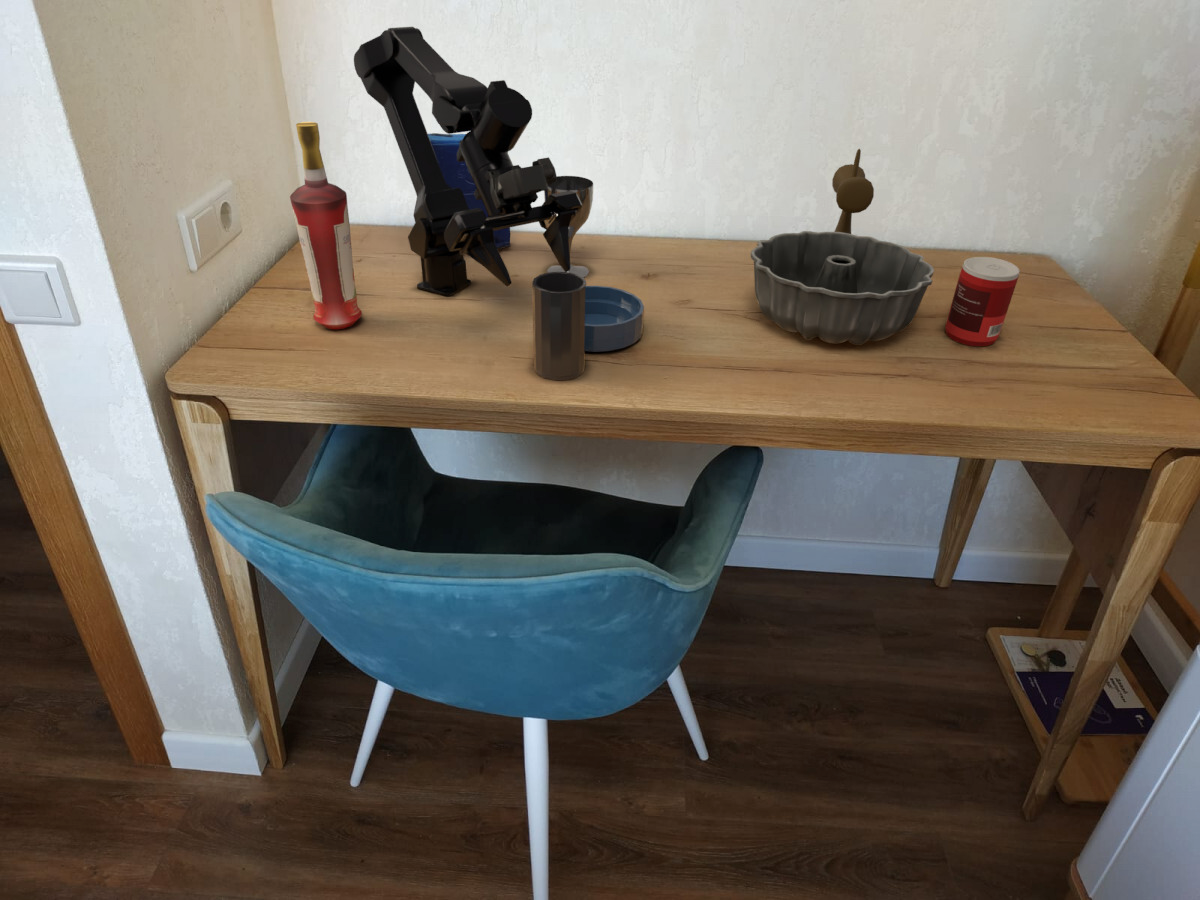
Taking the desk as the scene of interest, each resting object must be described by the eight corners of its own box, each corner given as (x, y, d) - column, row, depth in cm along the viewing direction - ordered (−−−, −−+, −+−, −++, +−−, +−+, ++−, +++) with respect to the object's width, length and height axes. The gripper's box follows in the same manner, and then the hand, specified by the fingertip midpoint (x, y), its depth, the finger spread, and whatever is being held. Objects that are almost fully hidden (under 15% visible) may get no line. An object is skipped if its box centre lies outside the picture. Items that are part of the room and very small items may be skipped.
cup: (524, 372, 112) (522, 285, 105) (550, 352, 117) (550, 268, 110) (568, 385, 109) (569, 296, 102) (593, 364, 114) (595, 278, 107)
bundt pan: (748, 279, 141) (755, 221, 135) (908, 296, 137) (923, 237, 131) (737, 348, 119) (746, 283, 114) (927, 371, 115) (946, 304, 109)
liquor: (315, 313, 125) (280, 118, 109) (365, 310, 126) (337, 117, 110) (311, 335, 119) (273, 131, 103) (364, 331, 120) (334, 130, 105)
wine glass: (585, 282, 137) (587, 192, 129) (539, 277, 139) (538, 187, 130) (595, 265, 144) (597, 178, 136) (551, 260, 145) (550, 174, 137)
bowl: (528, 340, 119) (528, 311, 117) (576, 305, 130) (576, 278, 127) (615, 364, 114) (616, 334, 112) (657, 326, 125) (659, 298, 122)
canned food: (996, 329, 127) (1018, 260, 121) (998, 351, 121) (1022, 280, 115) (943, 320, 129) (962, 253, 123) (943, 342, 123) (963, 272, 116)
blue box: (431, 256, 145) (420, 138, 134) (430, 245, 150) (419, 130, 138) (512, 252, 148) (509, 136, 137) (509, 242, 152) (505, 128, 141)
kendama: (822, 273, 144) (844, 155, 133) (816, 253, 152) (837, 140, 140) (857, 276, 143) (882, 157, 132) (850, 256, 151) (873, 142, 140)
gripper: (447, 146, 99) (498, 264, 98) (575, 128, 108) (623, 235, 107) (423, 195, 109) (469, 303, 107) (543, 174, 118) (587, 273, 117)
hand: (539, 277), depth 109 cm, fingers open, 9 cm apart
